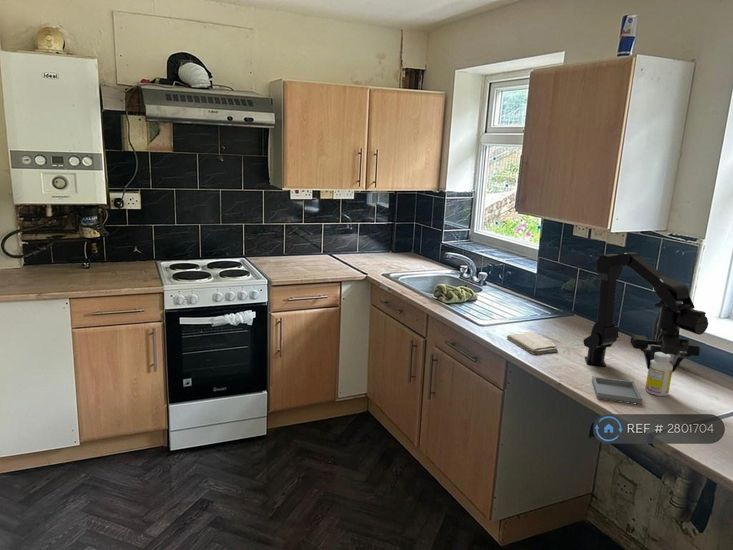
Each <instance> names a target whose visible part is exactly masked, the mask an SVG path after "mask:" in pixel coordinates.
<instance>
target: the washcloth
mask: <svg viewBox="0 0 733 550" xmlns="http://www.w3.org/2000/svg"><path fill="white" fill-rule="evenodd" d="M506 339H507V340H509V341H510V342H512V343H514V344H515V345H517V346H518V347H520V348H522V349H523V348H524V350H525V349H526V350H525V351H527V352H528V351H529V352H528V353H530V354H531V353H532V355H533V354H534V355H543V354H544V353H545V354H549V353H550V354H551V353H557V352H558V348H557V345H556V344H554V343H553V342H552V341H551V339H547V338H546V337H544V336H542V335H540V334H538V333H536V332H534V331H525V332H522V333H513V334H512V333H511V334H507V336H506ZM545 354H544V355H545Z"/></svg>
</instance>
